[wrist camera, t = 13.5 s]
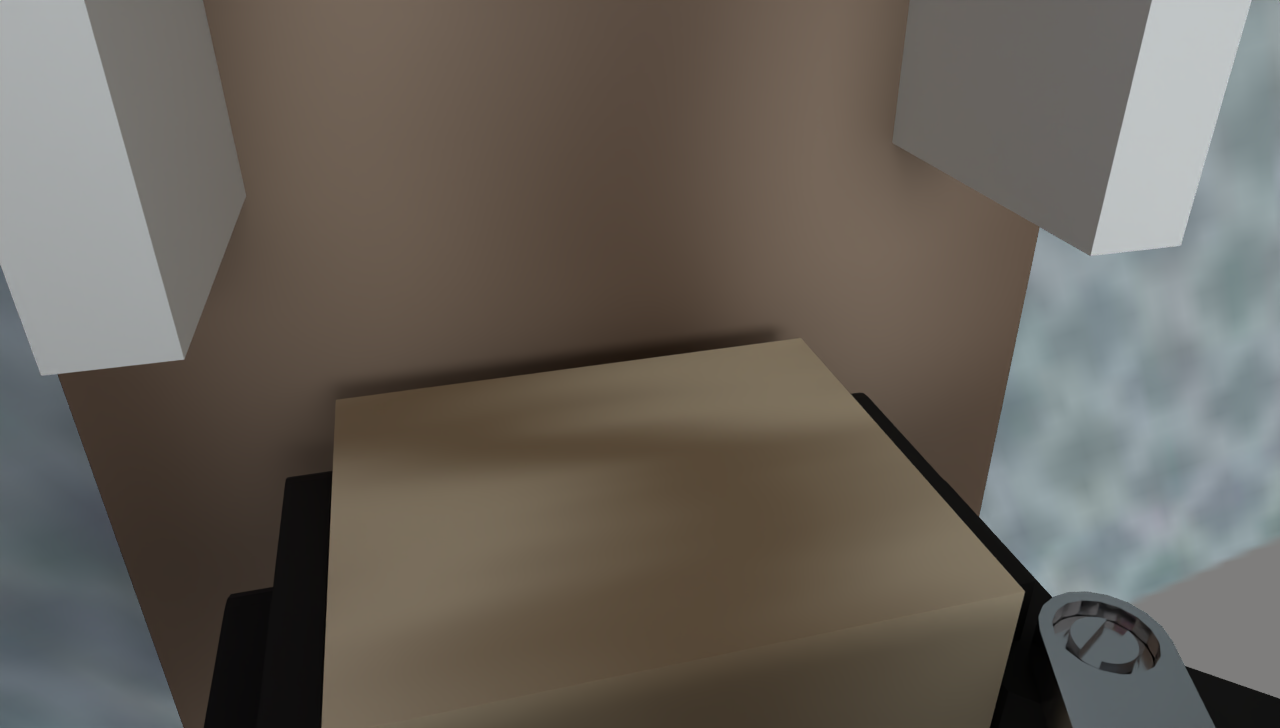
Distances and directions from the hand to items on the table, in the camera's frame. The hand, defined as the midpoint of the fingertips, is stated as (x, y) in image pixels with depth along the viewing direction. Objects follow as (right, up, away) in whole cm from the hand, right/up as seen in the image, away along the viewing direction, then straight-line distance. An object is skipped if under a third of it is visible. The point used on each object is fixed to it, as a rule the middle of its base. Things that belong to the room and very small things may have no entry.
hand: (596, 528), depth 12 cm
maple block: (0, -1, +1) cm, 2 cm away
